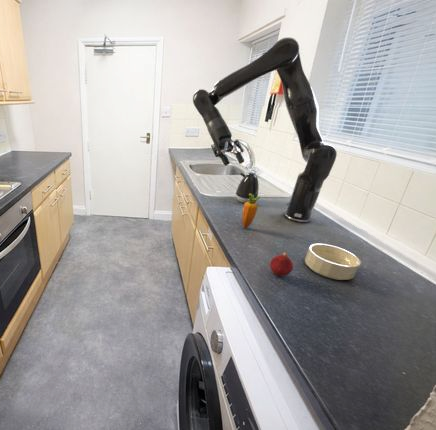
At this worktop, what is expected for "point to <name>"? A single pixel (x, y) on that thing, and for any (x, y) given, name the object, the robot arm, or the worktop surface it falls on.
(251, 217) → the carrot
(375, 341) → the worktop surface
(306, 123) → the robot arm
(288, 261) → the onion
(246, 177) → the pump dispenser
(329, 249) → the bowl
